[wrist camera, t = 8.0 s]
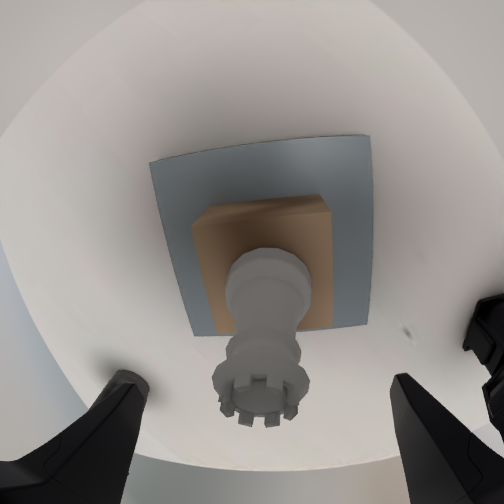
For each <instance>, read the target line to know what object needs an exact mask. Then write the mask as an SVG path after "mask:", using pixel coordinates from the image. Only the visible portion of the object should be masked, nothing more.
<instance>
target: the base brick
mask: <svg viewBox="0 0 504 504" xmlns="http://www.w3.org/2000/svg"><path fill="white" fill-rule="evenodd" d="M191 230H192V235H193V240H194V244H195V248H196V253H197V257H198V261H199V266H200V270H201V274H202V278H203V282H204V286H205V290H206V294H207V298H208V302H209V306H210V310H211V314H212V317H213V321H214V325H215V329H216V332H217V334H235V320H234V318H233V317H232V315H231V312H230V311H229V309H228V307H227V304H226V296H225V286H226V283H227V280H226V278H227V276H228V273H229V271H230V268H231V266H232V264H233V263H234V262H235V261H237V260H238V259H239V258H240V257H241V256H242V255H243V254H245V253H247V252H250V251H253V250H255V249H258V248H279V249H282V250H284V251H287V252H289V253H292V254H294V255H295V256H296V257H297V258H298V259H299V260H301V261H302V262H303V263H304V264H305V265H306V267H307V269H308V272H309V274H310V277H311V280H312V282H311V288H312V294H311V304H310V307H309V309H308V311H307V312H306V314H305V316H304V317H303V319H302V320H301V321H300V322H299V324H298V326H297V328H296V330H306V329H317V328H327V327H332V321H333V251H332V223H331V211H330V209H329V208H328V206H327V205H326V203H325V202H324V200H323V198H322V197H321V195H320V194H315V195H303V196H293V197H282V198H272V199H263V200H254V201H245V202H237V203H229V204H221V205H213V206H208V207H207V209H206V210H205V211H204V212H203V213H202V214H201V215H200V216H199V217H198V219H197V220H196V221H195V222H194V223H193V224H192V225H191Z"/></svg>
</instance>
